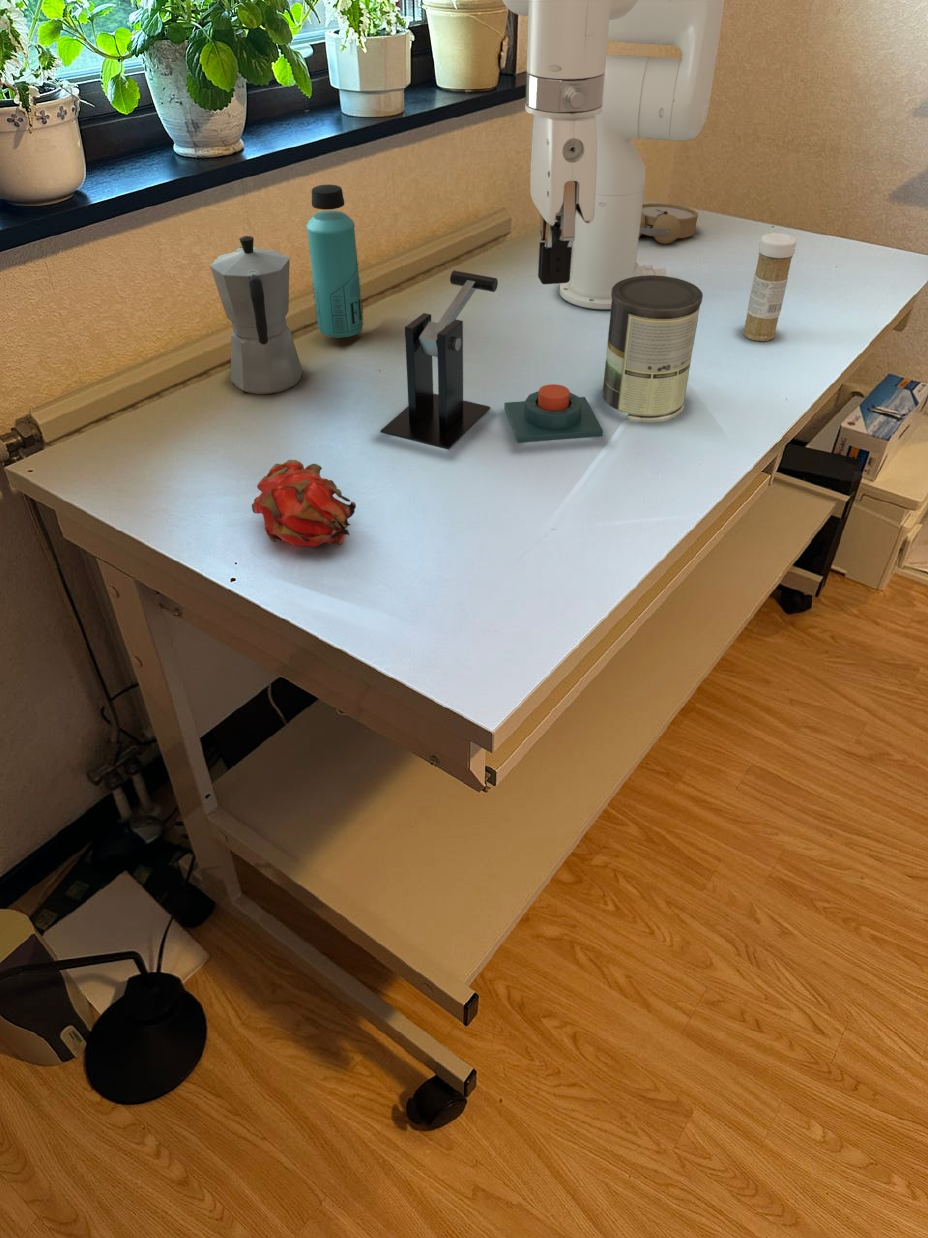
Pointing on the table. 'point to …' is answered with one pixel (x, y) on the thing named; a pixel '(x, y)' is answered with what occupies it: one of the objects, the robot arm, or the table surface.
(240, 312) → the coffeepot
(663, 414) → the coffee can
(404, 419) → the bracket
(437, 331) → the lever
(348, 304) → the beverage bottle
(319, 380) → the table surface
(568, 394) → the button
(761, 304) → the sprinkles bottle
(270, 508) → the dragon fruit
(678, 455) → the table surface
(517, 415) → the button box
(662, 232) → the alarm clock
